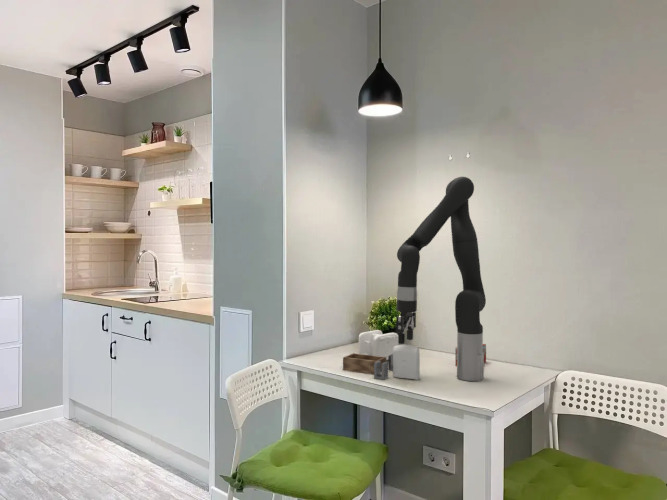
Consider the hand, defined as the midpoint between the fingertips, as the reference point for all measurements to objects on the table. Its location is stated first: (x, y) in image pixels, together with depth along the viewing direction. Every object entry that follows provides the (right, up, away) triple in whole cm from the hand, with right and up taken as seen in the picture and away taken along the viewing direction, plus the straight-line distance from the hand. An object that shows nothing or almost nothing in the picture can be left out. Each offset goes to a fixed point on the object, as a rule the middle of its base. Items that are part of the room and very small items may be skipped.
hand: (405, 341), depth 199 cm
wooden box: (-15, -13, +11) cm, 23 cm away
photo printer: (0, -14, 0) cm, 14 cm away
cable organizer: (-8, -13, +30) cm, 33 cm away
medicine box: (+30, -14, +22) cm, 40 cm away
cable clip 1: (-9, -13, -1) cm, 16 cm away
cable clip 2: (-3, -13, +11) cm, 18 cm away
